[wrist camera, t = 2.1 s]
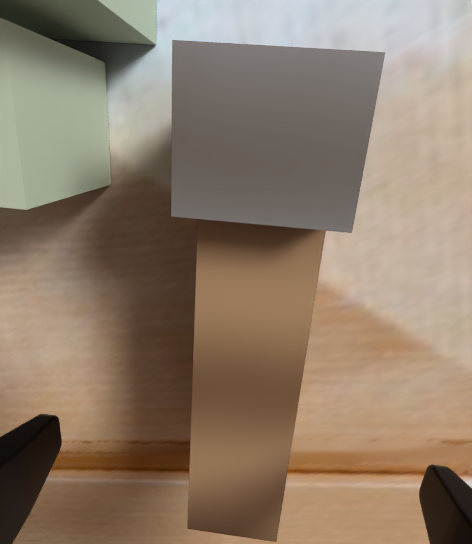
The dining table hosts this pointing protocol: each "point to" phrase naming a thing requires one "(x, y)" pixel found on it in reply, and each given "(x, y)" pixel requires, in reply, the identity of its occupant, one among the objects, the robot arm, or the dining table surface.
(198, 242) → the hammer
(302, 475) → the dining table surface
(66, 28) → the pale green slab
